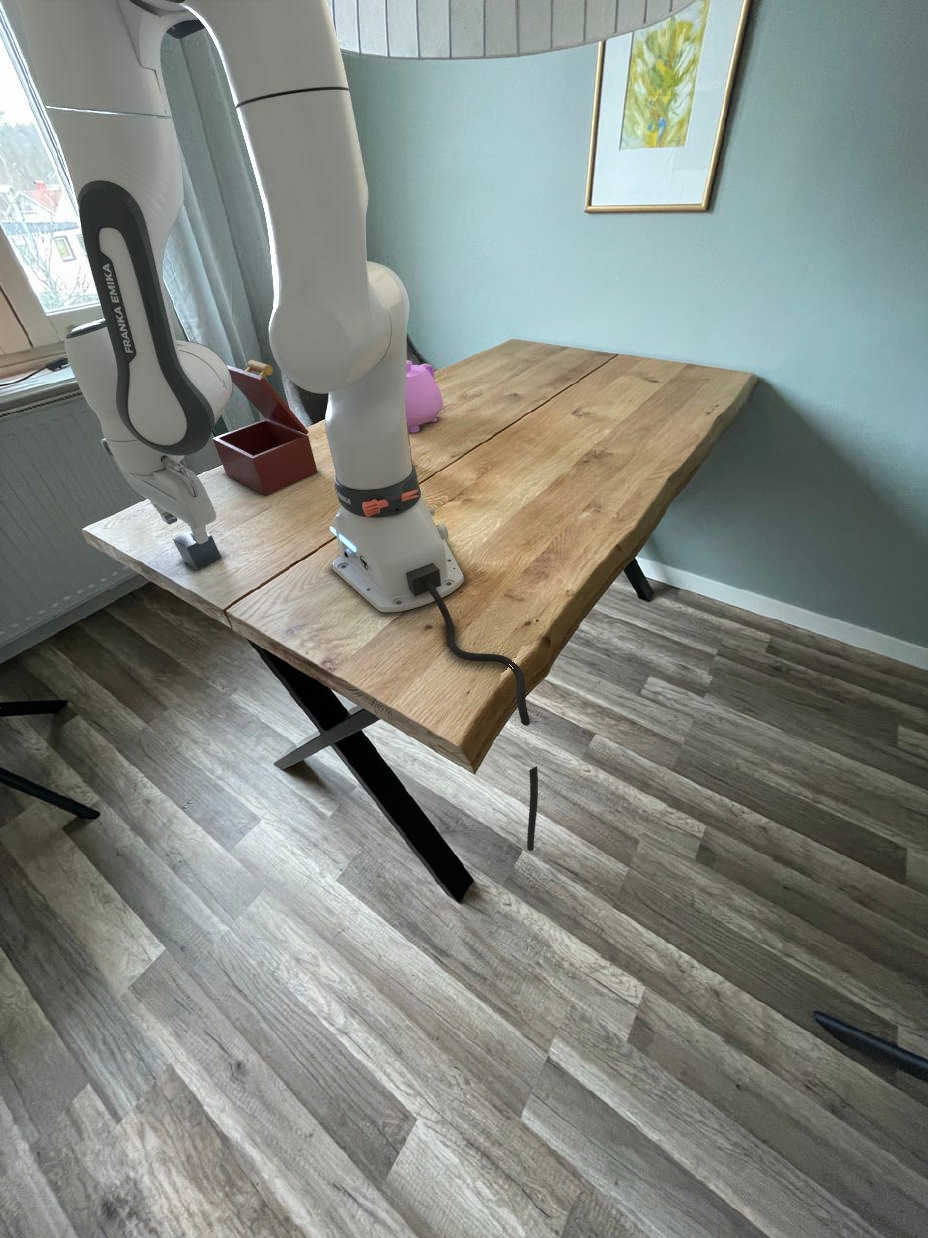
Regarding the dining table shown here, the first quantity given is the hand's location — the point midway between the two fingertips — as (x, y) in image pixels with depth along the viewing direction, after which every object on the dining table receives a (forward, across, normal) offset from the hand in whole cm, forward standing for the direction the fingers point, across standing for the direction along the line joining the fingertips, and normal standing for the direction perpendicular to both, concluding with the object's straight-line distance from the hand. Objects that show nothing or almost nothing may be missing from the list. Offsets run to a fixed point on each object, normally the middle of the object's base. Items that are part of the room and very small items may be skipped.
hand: (186, 531), depth 84 cm
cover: (-9, +16, -29) cm, 34 cm away
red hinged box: (+5, +16, -26) cm, 31 cm away
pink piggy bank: (+5, +10, -61) cm, 62 cm away
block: (+5, -1, 0) cm, 5 cm away
